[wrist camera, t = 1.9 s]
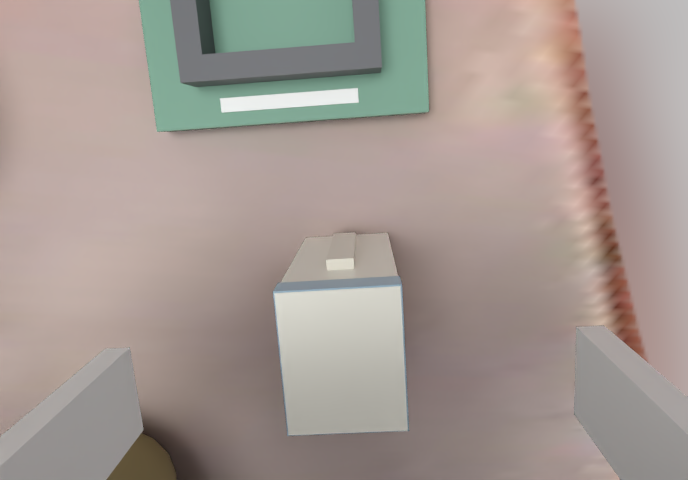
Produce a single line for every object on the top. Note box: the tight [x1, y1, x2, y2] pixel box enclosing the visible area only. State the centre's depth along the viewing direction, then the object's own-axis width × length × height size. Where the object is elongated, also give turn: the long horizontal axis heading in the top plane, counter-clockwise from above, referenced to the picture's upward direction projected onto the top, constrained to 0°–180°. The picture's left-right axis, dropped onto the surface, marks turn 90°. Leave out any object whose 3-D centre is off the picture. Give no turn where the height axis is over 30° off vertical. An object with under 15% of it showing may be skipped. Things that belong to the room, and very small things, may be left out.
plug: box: [273, 232, 409, 436], centre depth 21 cm, size 6×4×9 cm
